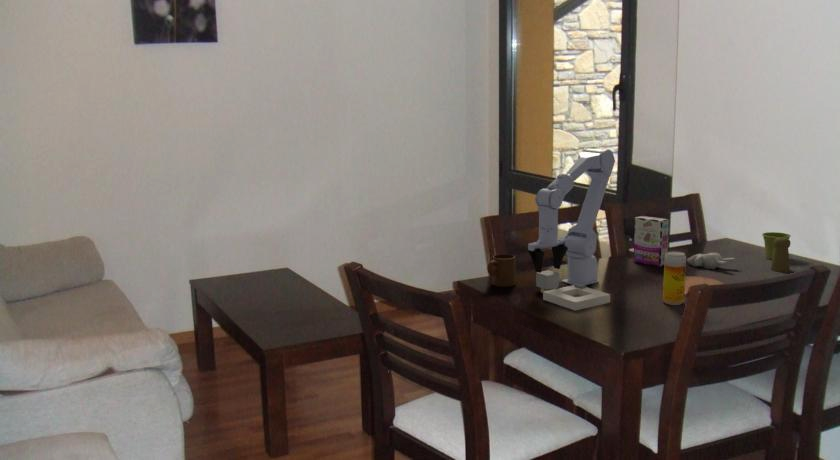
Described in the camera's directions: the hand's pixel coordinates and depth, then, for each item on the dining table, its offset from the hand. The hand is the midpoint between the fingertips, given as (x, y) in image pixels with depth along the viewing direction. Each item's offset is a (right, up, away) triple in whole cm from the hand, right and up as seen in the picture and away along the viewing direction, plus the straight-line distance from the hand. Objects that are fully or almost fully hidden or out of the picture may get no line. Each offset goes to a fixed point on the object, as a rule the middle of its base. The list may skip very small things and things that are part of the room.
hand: (547, 270), depth 258 cm
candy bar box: (+42, 0, +34) cm, 54 cm away
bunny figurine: (+60, -1, +27) cm, 66 cm away
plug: (0, -7, +1) cm, 7 cm away
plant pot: (+87, +2, +38) cm, 96 cm away
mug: (-14, -6, +9) cm, 18 cm away
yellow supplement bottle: (+35, -9, -13) cm, 39 cm away
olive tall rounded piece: (+82, -1, +22) cm, 85 cm away
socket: (+7, -9, -9) cm, 15 cm away
